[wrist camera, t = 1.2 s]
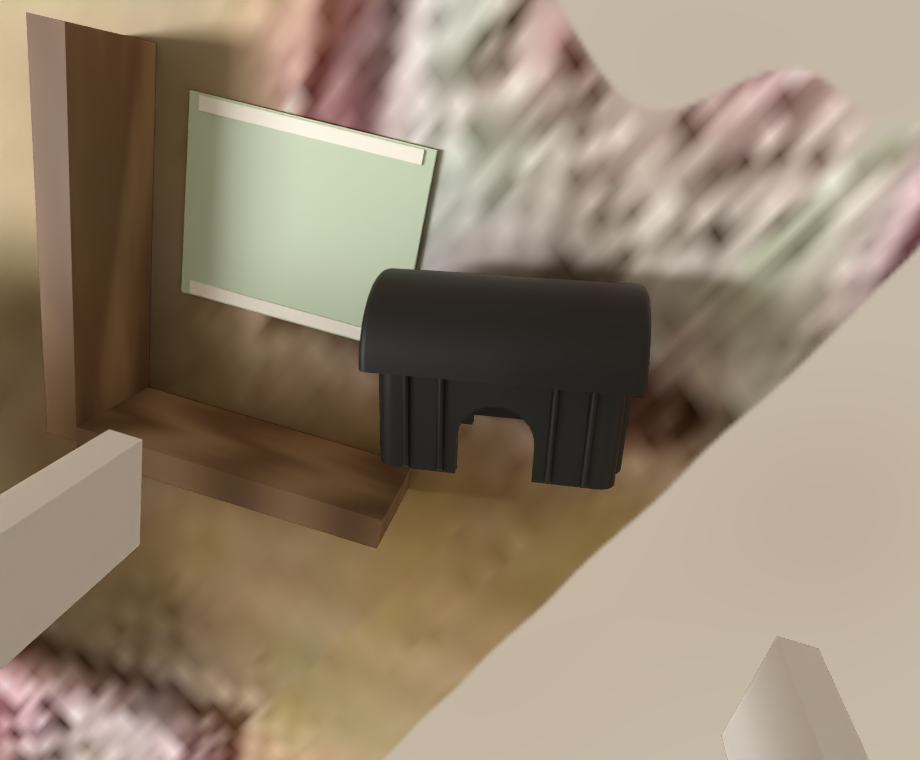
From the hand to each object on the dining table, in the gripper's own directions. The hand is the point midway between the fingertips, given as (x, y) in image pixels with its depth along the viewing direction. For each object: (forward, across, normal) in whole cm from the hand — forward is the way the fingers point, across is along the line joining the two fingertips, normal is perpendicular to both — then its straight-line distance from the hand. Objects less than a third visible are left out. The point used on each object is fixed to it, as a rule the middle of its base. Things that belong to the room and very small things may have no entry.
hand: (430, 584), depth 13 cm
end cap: (+17, 0, 0) cm, 17 cm away
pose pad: (+17, -11, +3) cm, 20 cm away
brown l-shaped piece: (+17, -11, 0) cm, 20 cm away
